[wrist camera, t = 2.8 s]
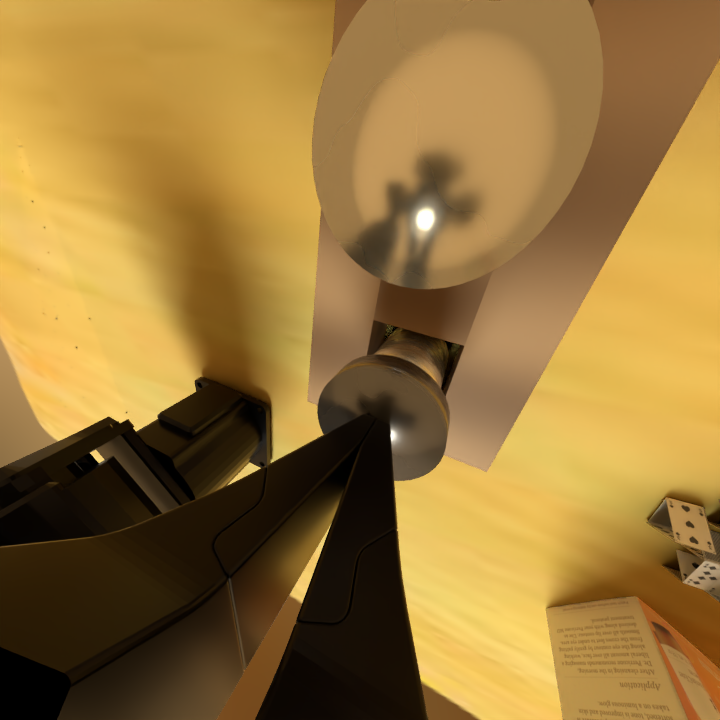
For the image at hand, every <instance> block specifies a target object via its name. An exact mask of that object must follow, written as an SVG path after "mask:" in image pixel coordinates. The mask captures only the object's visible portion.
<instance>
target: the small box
mask: <svg viewBox="0 0 720 720" xmlns="http://www.w3.org/2000/svg"><path fill="white" fill-rule="evenodd" d="M546 615H547V621H548V627H549V634H550V640H551V646H552V652H553V659H554V666H555V672H556V679H557V685H558V691H559V697H560V704H561V710H562V717H563V720H720V669H719V668H718V667H717V666H716V665H715V664H713V663H712V662H711V661H710V660H709V659H708V658H707V657H706V656H705V655H703V654H702V653H701V652H700V651H699V650H698V649H697V648H696V647H694V646H693V645H692V644H691V643H690V642H689V641H688V640H687V639H685V638H684V637H683V636H682V635H681V634H680V633H679V632H678V631H676V630H675V629H674V628H673V627H672V626H671V625H670V624H669V623H667V622H666V621H665V620H664V619H663V618H662V617H661V616H659V615H658V614H657V613H656V612H655V611H654V610H653V609H651V608H650V607H649V606H648V605H647V604H645V603H644V602H643V601H642V600H641V599H640V598H638V597H636V596H632V597H621V598H613V599H605V600H597V601H590V602H583V603H576V604H570V605H563V606H557V607H550V608H546Z"/></svg>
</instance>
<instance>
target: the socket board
mask: <svg viewBox="0 0 720 720" xmlns="http://www.w3.org/2000/svg"><path fill="white" fill-rule="evenodd" d="M366 1H367V0H336V6H335V20H334V34H333V48H332V56H333V54H334V52H335V50H336V48H337V46H338V44H339V42H340V40H341V38H342V36H343V34H344V33H345V31H346V29H347V28H348V26H349V25H350V23H351V22H352V20H353V18H354V17H355V15H356V14H357V12H358V11H359V10H360V9H361V7H362V6H363V5H364V4H365V2H366ZM588 1H589V3H590V5H591V7H592V10H593V14H594V17H595V20H596V24H597V27H598V30H599V34H600V41H601V49H602V56H603V92H602V99H601V106H600V113H599V119H598V122H597V126H596V130H595V134H594V138H593V141H592V145H591V147H590V150H589V153H588V155H587V158H586V160H585V163H584V165H583V168H582V170H581V172H580V174H579V176H578V178H577V180H576V182H575V184H574V186H573V188H572V190H571V191H570V193H569V195H568V196H567V198H566V199H565V201H564V202H563V204H562V205H561V207H560V208H559V210H558V211H557V213H556V214H555V215H554V217H553V218H552V219H551V220H550V222H549V223H548V224H547V225H546V226H545V228H544V229H543V230H542V231H541V232H540V233H539V234H538V235H537V236H536V237H535V238H534V239H533V240H532V241H531V242H530V243H529V244H528V245H527V246H526V247H525V248H524V249H523V250H521V251H520V252H519V253H518V254H516V255H515V256H514V257H513V258H511V259H510V260H509V261H507V262H506V263H504V264H502V265H501V266H499V267H498V268H496V269H495V270H493V271H491V272H489V273H487V274H485V275H483V276H481V277H479V278H477V279H474V280H471V281H468V282H466V283H463V284H460V285H455V286H451V287H446V288H437V289H413V288H408V287H402V286H398V285H395V284H392V283H389V282H386V281H384V280H382V279H380V278H378V277H375V276H374V275H372V274H371V273H369V272H368V271H366V270H365V269H363V268H362V267H361V266H360V265H358V264H357V263H356V262H355V261H354V260H353V259H352V258H351V257H350V256H349V255H348V254H347V253H346V252H345V251H344V249H343V248H342V247H341V245H340V244H339V242H338V241H337V240H336V238H335V237H334V235H333V233H332V231H331V229H330V228H329V226H328V224H327V221H326V219H325V216H324V214H323V212H322V209H321V218H320V232H319V246H318V260H317V274H316V288H315V302H314V317H313V331H312V345H311V359H310V373H309V387H308V402H311V403H313V404H316V405H318V401H319V398H320V395H321V392H322V391H323V389H324V387H325V386H326V385H327V383H328V382H329V381H330V380H331V379H332V378H333V377H334V376H335V375H336V374H337V373H338V372H339V371H340V370H341V369H342V368H343V367H344V366H345V365H346V364H348V363H349V362H351V361H352V360H354V359H357V358H359V357H362V356H366V355H373V354H374V353H375V352H376V351H377V350H378V349H379V348H380V346H381V345H382V344H383V343H384V338H385V334H386V329H387V324H389V325H393V326H396V327H400V328H403V329H407V330H410V331H414V332H417V333H421V334H424V335H428V336H431V337H435V338H438V339H442V340H445V341H449V342H452V343H456V344H459V345H460V346H459V349H458V352H457V354H456V357H455V360H454V363H453V365H452V368H451V371H450V374H449V376H448V379H447V382H446V384H445V387H444V389H442V388H441V389H442V391H443V393H444V395H445V397H446V400H447V402H448V406H449V411H450V424H449V431H448V437H447V443H446V449H445V452H444V455H445V456H448V457H450V458H453V459H455V460H458V461H460V462H463V463H465V464H468V465H471V466H473V467H476V468H478V469H481V470H483V471H486V472H487V471H488V469H489V467H490V466H491V464H492V462H493V460H494V459H495V457H496V455H497V453H498V451H499V450H500V448H501V446H502V444H503V443H504V441H505V439H506V437H507V435H508V434H509V432H510V430H511V428H512V427H513V425H514V423H515V421H516V419H517V418H518V416H519V414H520V412H521V411H522V409H523V407H524V405H525V403H526V402H527V400H528V398H529V396H530V395H531V393H532V391H533V389H534V387H535V386H536V384H537V382H538V380H539V379H540V377H541V375H542V373H543V371H544V370H545V368H546V366H547V364H548V363H549V361H550V359H551V357H552V355H553V354H554V352H555V350H556V348H557V347H558V345H559V343H560V341H561V340H562V338H563V336H564V334H565V332H566V331H567V329H568V327H569V325H570V324H571V322H572V320H573V318H574V316H575V315H576V313H577V311H578V309H579V308H580V306H581V304H582V302H583V300H584V299H585V297H586V295H587V293H588V292H589V290H590V288H591V286H592V284H593V283H594V281H595V279H596V277H597V276H598V274H599V272H600V270H601V268H602V267H603V265H604V263H605V261H606V260H607V258H608V256H609V254H610V252H611V251H612V249H613V247H614V245H615V244H616V242H617V240H618V238H619V236H620V235H621V233H622V231H623V229H624V228H625V226H626V224H627V222H628V220H629V219H630V217H631V215H632V213H633V212H634V210H635V208H636V206H637V204H638V203H639V201H640V199H641V197H642V196H643V194H644V192H645V190H646V188H647V187H648V185H649V183H650V181H651V180H652V178H653V176H654V174H655V172H656V171H657V169H658V167H659V165H660V164H661V162H662V160H663V158H664V156H665V155H666V153H667V151H668V149H669V148H670V146H671V144H672V142H673V140H674V139H675V137H676V135H677V133H678V132H679V130H680V128H681V126H682V124H683V123H684V121H685V119H686V117H687V116H688V114H689V112H690V110H691V108H692V107H693V105H694V103H695V101H696V100H697V98H698V96H699V94H700V92H701V91H702V89H703V87H704V85H705V84H706V82H707V80H708V78H709V76H710V75H711V73H712V71H713V69H714V68H715V66H716V64H717V62H718V60H719V59H720V0H588Z"/></svg>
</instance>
